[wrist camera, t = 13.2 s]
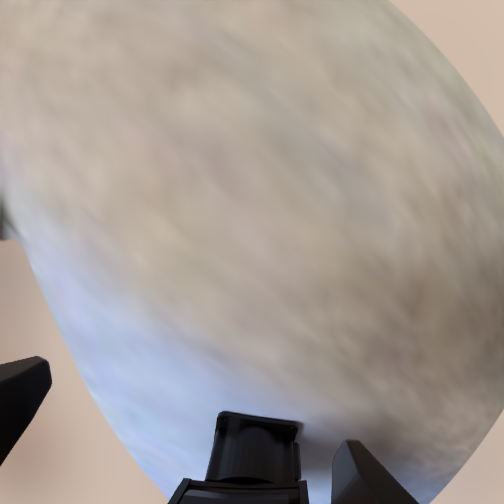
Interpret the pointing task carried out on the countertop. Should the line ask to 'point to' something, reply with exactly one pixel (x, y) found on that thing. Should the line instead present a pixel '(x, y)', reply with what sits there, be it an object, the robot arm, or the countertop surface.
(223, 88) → the countertop surface
